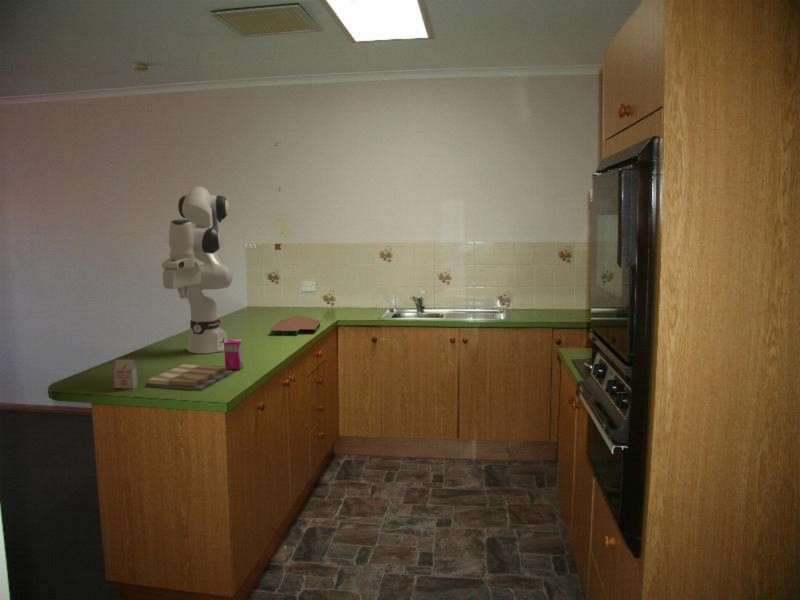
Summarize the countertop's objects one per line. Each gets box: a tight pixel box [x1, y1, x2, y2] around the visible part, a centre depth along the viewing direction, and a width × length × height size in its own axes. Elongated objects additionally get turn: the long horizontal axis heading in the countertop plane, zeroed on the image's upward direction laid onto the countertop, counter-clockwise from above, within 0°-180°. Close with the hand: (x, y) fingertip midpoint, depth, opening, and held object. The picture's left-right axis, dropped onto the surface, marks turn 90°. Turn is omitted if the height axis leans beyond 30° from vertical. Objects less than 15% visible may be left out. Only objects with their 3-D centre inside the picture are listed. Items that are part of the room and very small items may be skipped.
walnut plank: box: [169, 364, 226, 386], centre depth 209 cm, size 22×10×2 cm, turn 169°
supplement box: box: [223, 339, 244, 371], centre depth 225 cm, size 6×6×12 cm
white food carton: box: [112, 359, 139, 390], centre depth 199 cm, size 4×7×10 cm, turn 91°
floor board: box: [145, 363, 234, 392], centre depth 210 cm, size 23×22×3 cm
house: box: [269, 314, 322, 337], centre depth 307 cm, size 23×33×8 cm
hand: (183, 298), depth 217 cm, fingers closed
